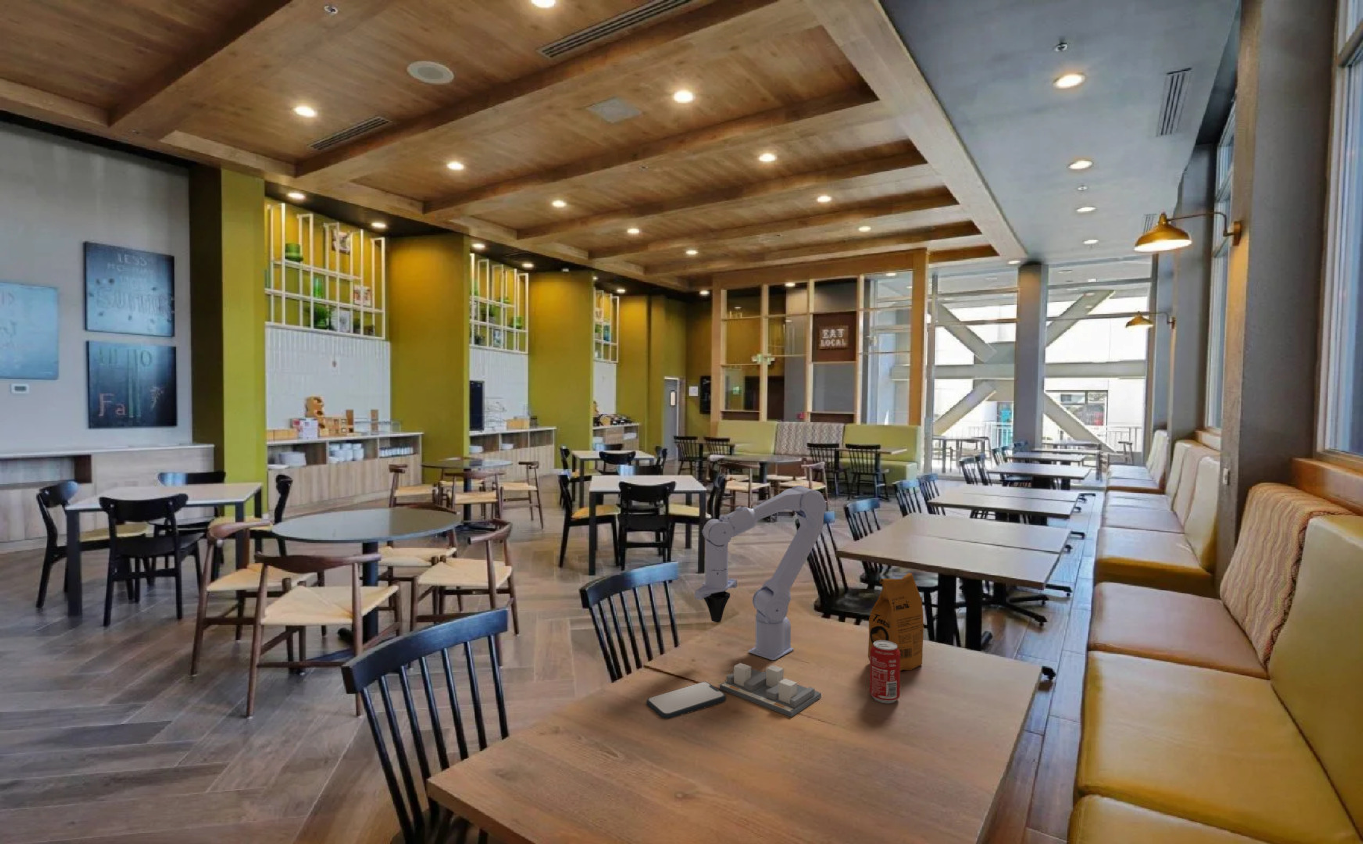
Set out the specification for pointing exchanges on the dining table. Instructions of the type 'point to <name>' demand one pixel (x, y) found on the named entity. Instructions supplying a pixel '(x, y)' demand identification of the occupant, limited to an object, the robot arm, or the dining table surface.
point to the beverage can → (885, 671)
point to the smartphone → (685, 700)
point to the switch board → (763, 694)
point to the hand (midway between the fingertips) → (716, 621)
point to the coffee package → (899, 620)
